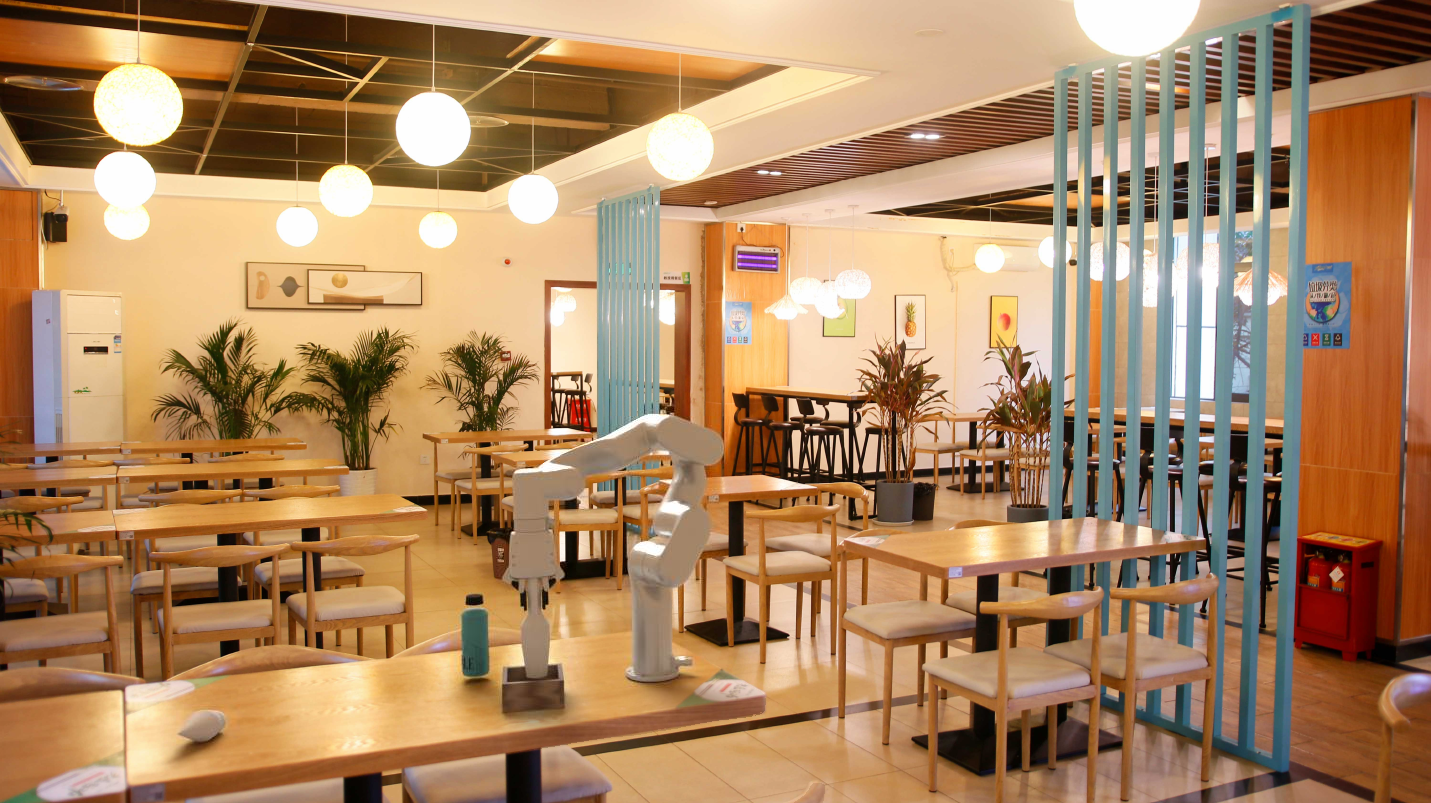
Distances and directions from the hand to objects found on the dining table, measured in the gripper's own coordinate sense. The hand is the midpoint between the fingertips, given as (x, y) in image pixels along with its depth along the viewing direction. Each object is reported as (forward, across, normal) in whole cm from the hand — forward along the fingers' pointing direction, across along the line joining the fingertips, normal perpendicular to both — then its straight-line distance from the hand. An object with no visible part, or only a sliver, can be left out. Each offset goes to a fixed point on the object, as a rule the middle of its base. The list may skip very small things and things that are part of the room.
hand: (534, 608), depth 223 cm
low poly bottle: (+15, 0, 0) cm, 15 cm away
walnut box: (+20, +1, 0) cm, 20 cm away
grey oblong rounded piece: (+19, +65, +13) cm, 69 cm away
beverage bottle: (+20, +14, -18) cm, 31 cm away
